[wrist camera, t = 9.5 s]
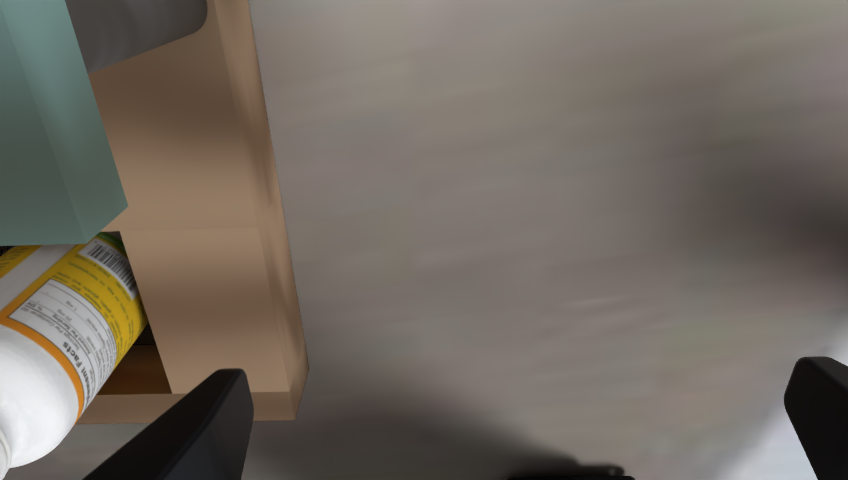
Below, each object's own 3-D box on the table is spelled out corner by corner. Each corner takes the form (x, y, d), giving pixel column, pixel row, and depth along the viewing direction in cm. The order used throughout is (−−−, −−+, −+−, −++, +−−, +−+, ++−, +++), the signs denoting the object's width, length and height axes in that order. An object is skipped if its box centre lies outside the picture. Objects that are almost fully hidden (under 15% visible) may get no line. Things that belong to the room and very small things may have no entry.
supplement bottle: (32, 315, 23) (-197, 532, 15) (19, 201, 21) (-265, 382, 12) (164, 339, 24) (16, 562, 15) (166, 231, 21) (-8, 424, 13)
